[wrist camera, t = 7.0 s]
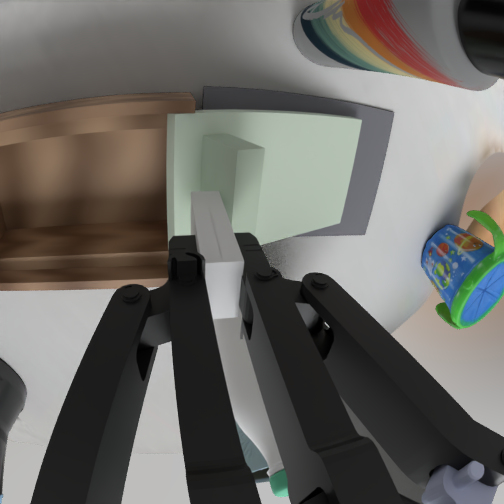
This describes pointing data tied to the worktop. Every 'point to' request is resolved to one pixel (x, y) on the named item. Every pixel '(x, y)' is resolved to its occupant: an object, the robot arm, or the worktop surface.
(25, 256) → the walnut box
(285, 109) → the mat
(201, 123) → the lid
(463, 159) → the worktop surface
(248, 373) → the milk bottle
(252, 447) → the teal cup
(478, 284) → the snack cup
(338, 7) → the lotion bottle
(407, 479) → the canister
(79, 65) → the worktop surface
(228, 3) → the worktop surface
